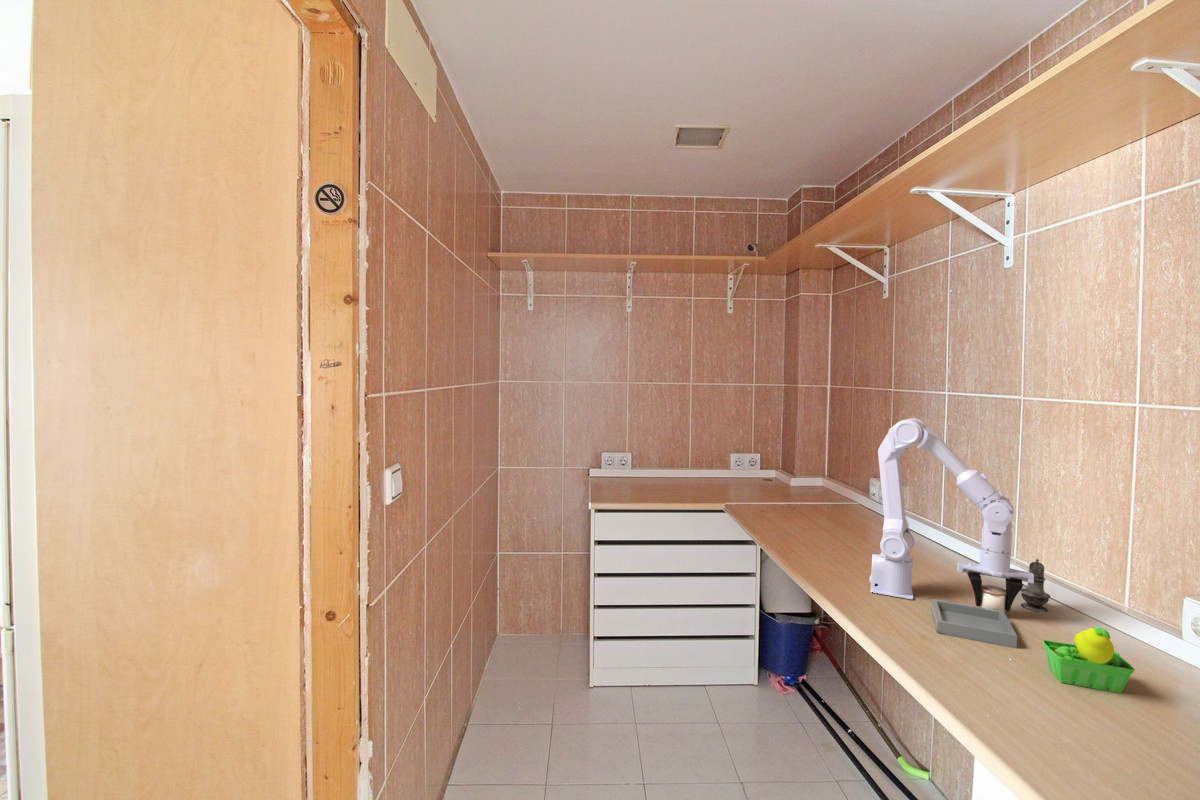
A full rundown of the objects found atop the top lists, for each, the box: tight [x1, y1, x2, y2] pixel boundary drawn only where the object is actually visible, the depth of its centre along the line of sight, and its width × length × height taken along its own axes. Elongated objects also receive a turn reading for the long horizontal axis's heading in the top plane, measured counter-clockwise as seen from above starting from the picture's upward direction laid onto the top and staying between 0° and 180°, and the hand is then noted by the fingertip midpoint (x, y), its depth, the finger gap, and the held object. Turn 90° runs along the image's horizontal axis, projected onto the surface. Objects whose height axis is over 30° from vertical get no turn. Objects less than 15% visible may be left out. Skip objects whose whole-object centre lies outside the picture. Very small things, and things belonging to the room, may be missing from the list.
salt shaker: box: [1019, 558, 1051, 613], centre depth 137 cm, size 6×6×12 cm
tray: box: [930, 598, 1018, 649], centre depth 125 cm, size 14×14×2 cm
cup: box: [980, 584, 1007, 614], centre depth 133 cm, size 5×5×6 cm
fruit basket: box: [1041, 626, 1135, 694], centre depth 103 cm, size 11×9×11 cm
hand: (992, 607), depth 133 cm, fingers closed on cup, 5 cm apart
